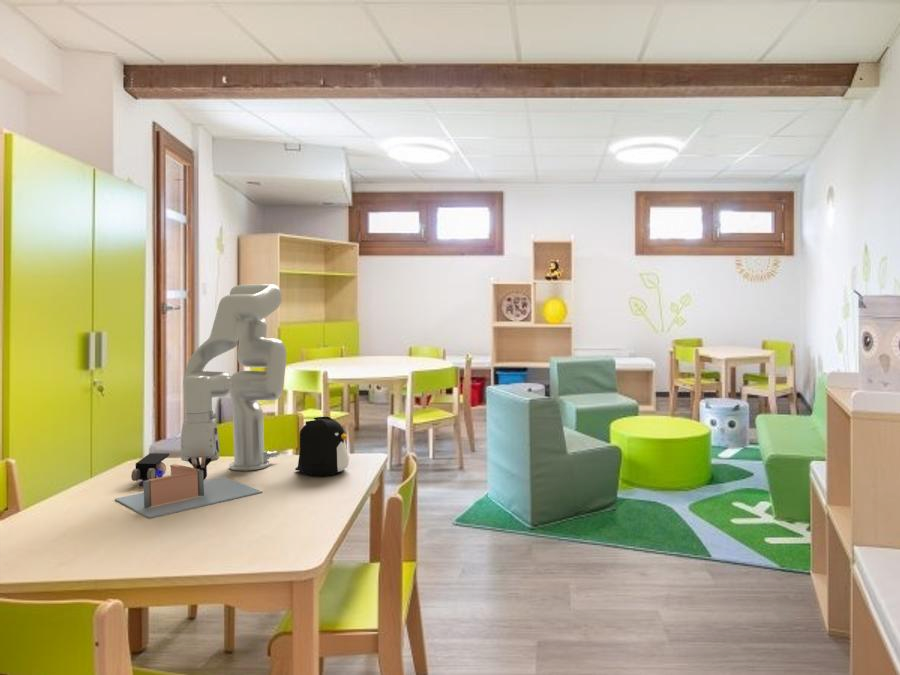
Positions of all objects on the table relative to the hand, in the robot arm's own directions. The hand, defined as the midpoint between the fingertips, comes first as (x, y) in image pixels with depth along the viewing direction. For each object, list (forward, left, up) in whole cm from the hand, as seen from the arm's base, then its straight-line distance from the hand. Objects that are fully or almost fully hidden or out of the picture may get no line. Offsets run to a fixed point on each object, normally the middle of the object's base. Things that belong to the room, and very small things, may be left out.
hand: (201, 480), depth 207 cm
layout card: (+5, +4, -3) cm, 7 cm away
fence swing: (+5, 0, -2) cm, 5 cm away
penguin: (-36, +9, -3) cm, 37 cm away
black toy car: (+6, -21, -3) cm, 22 cm away
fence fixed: (+11, +7, -3) cm, 13 cm away
